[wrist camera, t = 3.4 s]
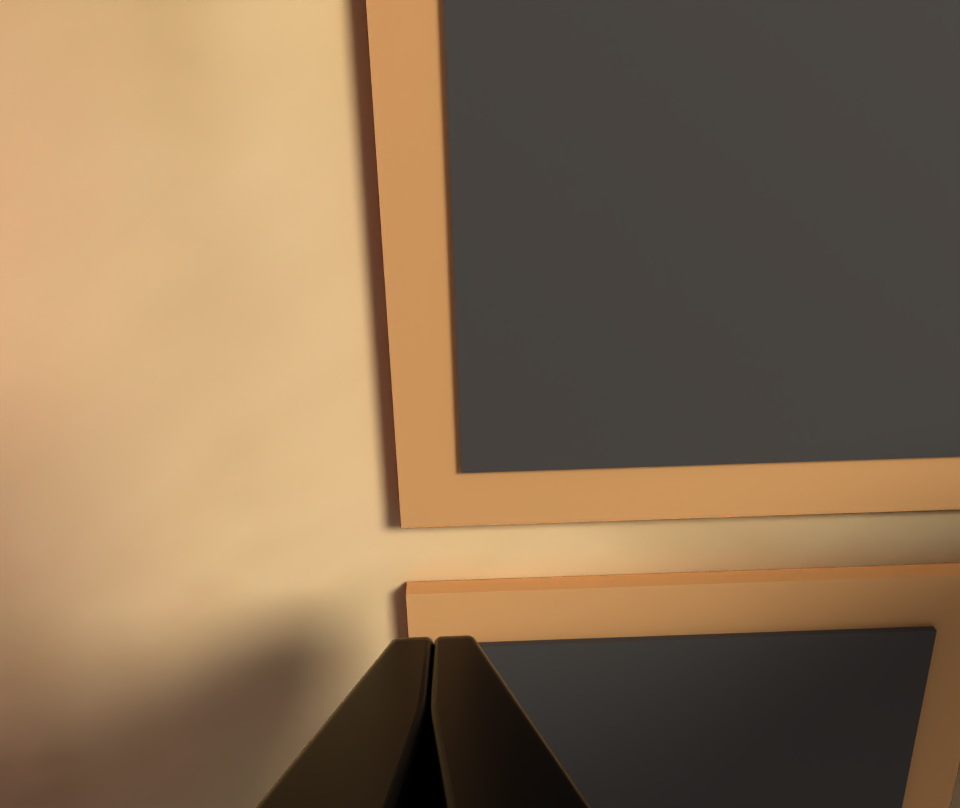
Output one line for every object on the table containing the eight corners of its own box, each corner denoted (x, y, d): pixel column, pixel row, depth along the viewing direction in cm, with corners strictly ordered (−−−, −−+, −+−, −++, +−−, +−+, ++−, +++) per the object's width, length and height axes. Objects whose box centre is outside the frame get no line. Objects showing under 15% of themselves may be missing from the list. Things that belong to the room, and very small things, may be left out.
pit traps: (1158, -223, 8) (1191, -238, 8) (900, 968, 14) (913, 992, 14) (355, -204, 8) (350, -218, 8) (434, 987, 14) (432, 1010, 14)
